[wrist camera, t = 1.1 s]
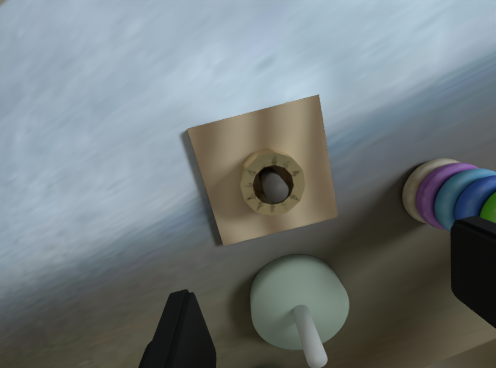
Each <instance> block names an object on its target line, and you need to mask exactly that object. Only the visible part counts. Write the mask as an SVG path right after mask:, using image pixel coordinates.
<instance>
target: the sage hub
mask: <svg viewBox="0 0 496 368" xmlns="http://www.w3.org/2000/svg"><path fill="white" fill-rule="evenodd" d="M250 303H251V316H252V322H253V325H254V328H255V329H256V331H257V333H258V334H259V335H260V336H261V337H262V338H263V339H264V340H265V341H266V342H268V343H269V344H271V345H273V346H276V347H278V348H282V349H287V350H304V354H305V357H306V360H307V364H308V365H309V366H310V367H311V368H321V367H323V366H324V365H325V364H326V363H327V360H328V359H327V355H326V353H325V350H324V348H323V345H322V343H324V342H326V341H328V340H329V339H331V338H332V337H333V336H334V335H335V334H336V333H337V332H338V331H339V330H340V329H341V327H342V326H343V324H344V323H345V321H346V318H347V316H348V311H349V299H348V295H347V292H346V290H345V288H344V287H343V285H342V284H341V282H340V280H339V279H338V277H337V276H336V274H335V273H334V271H333V270H332V269H331V267H330V266H329V265H328V264H326V263H325V262H324V261H322V260H321V259H318V258H316V257H313V256H310V255H305V254H292V255H287V256H283V257H280V258H278V259H275V260H273V261H272V262H270V263H268V264H267V265H266V266H264V267H263V268H262V269H261V270H260V271H259V273H258V274H257V275H256V277H255V279H254V281H253V283H252V286H251V290H250Z"/></svg>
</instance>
